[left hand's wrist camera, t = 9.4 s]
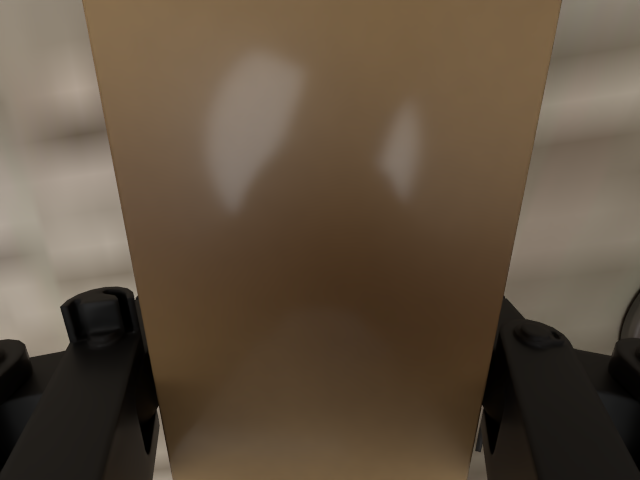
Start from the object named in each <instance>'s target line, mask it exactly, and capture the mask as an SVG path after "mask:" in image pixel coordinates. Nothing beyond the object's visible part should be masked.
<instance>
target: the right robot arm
mask: <svg viewBox="0 0 640 480" xmlns="http://www.w3.org/2000/svg"><path fill="white" fill-rule="evenodd" d="M624 338H640V293H639V295H638V296H637V298H636V299H635V301H634V302H633V304H632V306H631V308H630V309H629V312H628V314H627V316H626V318H625V321H624V324H623V328H622V332H621V339H624Z"/></svg>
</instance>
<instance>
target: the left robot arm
mask: <svg viewBox="0 0 640 480" xmlns="http://www.w3.org/2000/svg"><path fill="white" fill-rule="evenodd" d="M60 308H61V312H62V315H63V319H64V322H65V326H66V329H67V333H68V336H69V340H70V344H69V345H68V347H67V349H66V351H62V352H57V353H52V354H46V355H41V356H36V357H30V358H29V355H28V352H27V349H26V346H25V344H24V343H22V342H21V341H19V340H10V339H6V340H0V480H153V472H154V464H155V457H156V449H157V441H158V434H159V419H158V414H157V408H158V406H159V404H158V398H157V393H156V388H155V382H154V377H153V372H152V367H151V361H150V356H149V351H148V345H147V340H146V335H145V330H144V324H143V319H142V314H141V308H140V303H139V298H138V296H137V297H136V300H134V295H133V292H132V291H131V290H129V289H128V288H123V287H103V288H98V289H93V290H89V291H87V292H84V293H81V294H78V295H76V296H74V297H72V298H71V299H69V300H67V301H66V302H65V303H64V304H63V305H62V306H61V307H60ZM482 405H483V407H484V409H483V414H482V419H481V424H480V429H479V433H478V438H477V444H476V450H475V451H478V452H481V448H482V444H483V448H484V456H485V463H486V471H487V479H488V480H640V338H624V339H621V340H619V341H618V342H616V344H615V347H614V350H613V353H612V356H609V355H603V354H598V353H593V352H587V351H582V350H577V349H574V348H573V347H572V345H571V343H570V341H569V340H568V339H567V338H566V337H565V336H564V334H562V333H561V332H559V331H557V330H556V329H554V328H553V327H550V326H548V325H545V324H543V323H540V322H536V321H532V320H527V319H525V318H524V317H523V316H522V315H521V314H520V313H519V312H518V311H517V309H516V308H515V307H514V306H513V305H512V304H511V303H510V302H509V301H508V300H507V299H505V296H503V301H502V306H501V311H500V316H499V321H498V326H497V331H496V336H495V341H494V346H493V351H492V356H491V361H490V366H489V371H488V376H487V381H486V386H485V392H484V397H483V402H482Z"/></svg>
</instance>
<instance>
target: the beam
mask: <svg viewBox="0 0 640 480" xmlns="http://www.w3.org/2000/svg"><path fill="white" fill-rule="evenodd" d="M82 2H83V7H84V12H85V18H86V23H87V28H88V33H89V39H90V44H91V49H92V55H93V60H94V65H95V70H96V76H97V81H98V86H99V92H100V97H101V102H102V107H103V113H104V118H105V123H106V129H107V134H108V139H109V144H110V150H111V155H112V160H113V166H114V171H115V176H116V181H117V187H118V192H119V197H120V203H121V208H122V213H123V218H124V224H125V229H126V234H127V240H128V245H129V250H130V255H131V261H132V266H133V271H134V277H135V282H136V287H137V292H138V298H139V303H140V308H141V314H142V319H143V324H144V330H145V335H146V340H147V345H148V351H149V356H150V361H151V367H152V372H153V377H154V382H155V388H156V393H157V398H158V404H159V409H160V414H161V419H162V425H163V430H164V435H165V441H166V446H167V451H168V456H169V462H170V467H171V472H172V478H173V480H467V477H468V472H469V467H470V462H471V457H472V452H473V447H474V442H475V437H476V432H477V427H478V422H479V417H480V412H481V407H482V402H483V397H484V392H485V386H486V381H487V376H488V371H489V366H490V361H491V356H492V351H493V346H494V341H495V336H496V331H497V326H498V321H499V316H500V311H501V306H502V301H503V296H504V291H505V286H506V280H507V275H508V270H509V265H510V260H511V255H512V250H513V245H514V240H515V235H516V230H517V225H518V220H519V215H520V210H521V205H522V200H523V195H524V190H525V185H526V179H527V174H528V169H529V164H530V159H531V154H532V149H533V144H534V139H535V134H536V129H537V124H538V119H539V114H540V109H541V104H542V99H543V94H544V89H545V84H546V79H547V73H548V68H549V63H550V58H551V53H552V48H553V43H554V38H555V33H556V28H557V23H558V18H559V13H560V8H561V3H562V0H82Z"/></svg>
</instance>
